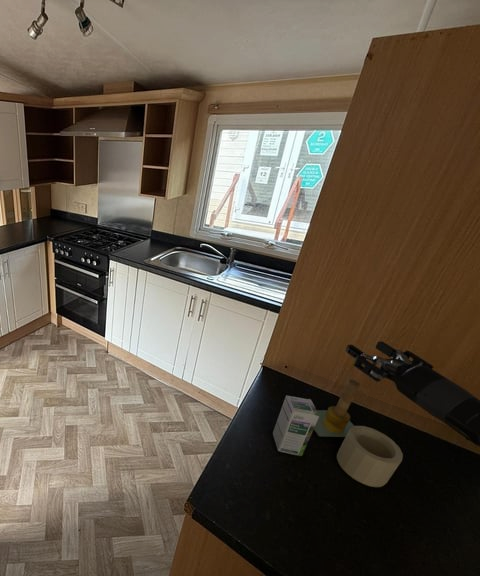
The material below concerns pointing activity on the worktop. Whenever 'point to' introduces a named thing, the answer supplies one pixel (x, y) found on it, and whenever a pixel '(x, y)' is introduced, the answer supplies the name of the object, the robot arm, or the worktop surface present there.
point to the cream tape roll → (369, 456)
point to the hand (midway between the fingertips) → (362, 345)
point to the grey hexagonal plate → (324, 432)
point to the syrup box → (295, 425)
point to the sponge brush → (341, 409)
